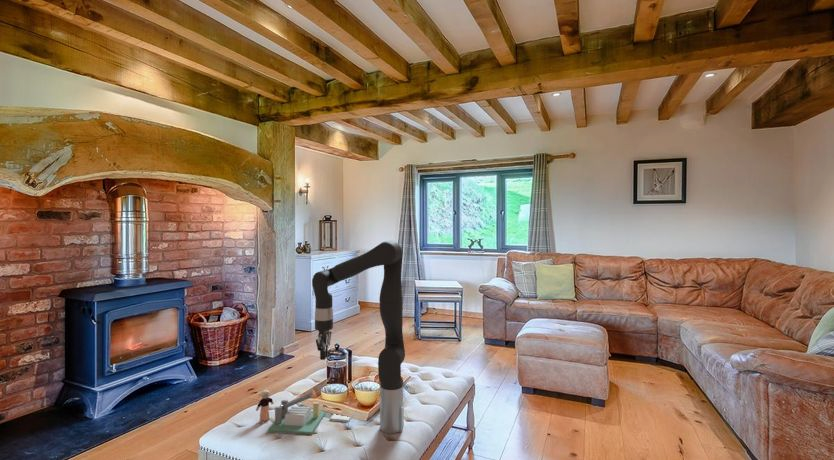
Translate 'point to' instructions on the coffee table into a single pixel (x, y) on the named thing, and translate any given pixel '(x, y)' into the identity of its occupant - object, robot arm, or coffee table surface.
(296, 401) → the gray bar
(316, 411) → the board
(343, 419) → the external hard drive
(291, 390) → the coffee table surface
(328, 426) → the coffee table surface
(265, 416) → the grandmother figurine
